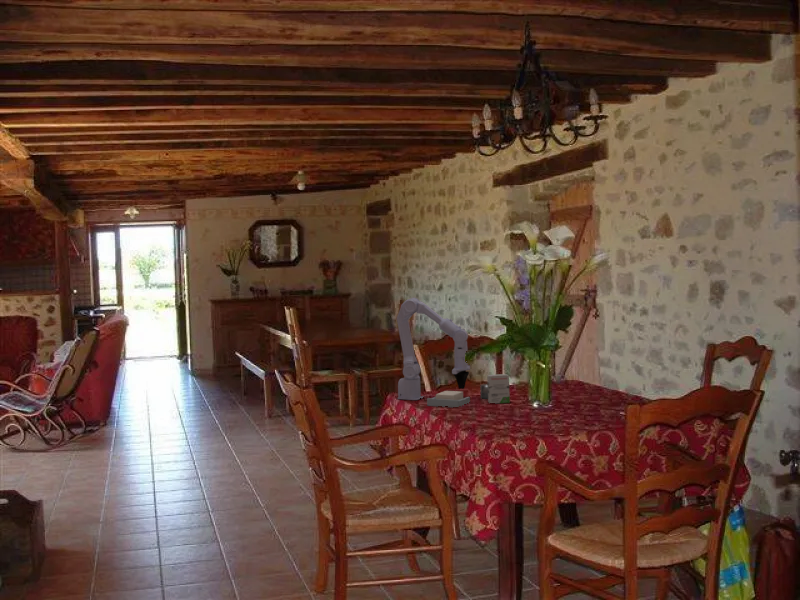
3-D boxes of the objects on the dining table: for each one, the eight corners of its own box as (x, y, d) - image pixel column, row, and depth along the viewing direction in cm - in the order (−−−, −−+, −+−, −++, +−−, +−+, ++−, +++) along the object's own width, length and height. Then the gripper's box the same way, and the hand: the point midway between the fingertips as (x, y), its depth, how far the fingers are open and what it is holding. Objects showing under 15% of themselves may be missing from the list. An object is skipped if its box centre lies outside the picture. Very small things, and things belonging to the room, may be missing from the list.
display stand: (427, 405, 367) (427, 398, 367) (440, 400, 378) (440, 393, 378) (457, 407, 361) (457, 400, 361) (470, 402, 372) (469, 395, 372)
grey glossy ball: (478, 399, 380) (478, 385, 379) (483, 397, 385) (483, 383, 385) (491, 400, 377) (491, 386, 376) (496, 398, 382) (496, 384, 382)
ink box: (507, 401, 374) (507, 373, 373) (510, 403, 369) (509, 375, 368) (487, 401, 373) (487, 374, 372) (489, 403, 368) (489, 375, 367)
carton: (436, 406, 367) (435, 394, 367) (446, 402, 376) (445, 390, 376) (453, 407, 364) (453, 395, 363) (463, 403, 372) (463, 391, 372)
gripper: (462, 359, 372) (462, 391, 373) (476, 355, 385) (476, 386, 385) (447, 359, 375) (447, 390, 376) (461, 355, 388) (462, 385, 389)
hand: (461, 388), depth 381 cm, fingers closed
